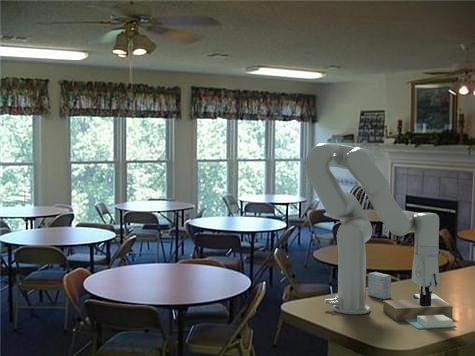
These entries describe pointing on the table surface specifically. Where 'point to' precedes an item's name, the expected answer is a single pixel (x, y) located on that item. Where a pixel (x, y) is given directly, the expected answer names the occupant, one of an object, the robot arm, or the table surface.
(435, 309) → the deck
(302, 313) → the table surface
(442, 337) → the table surface
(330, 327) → the table surface
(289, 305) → the table surface
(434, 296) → the smartphone
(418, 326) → the mat
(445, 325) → the white box
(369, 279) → the medicine box
